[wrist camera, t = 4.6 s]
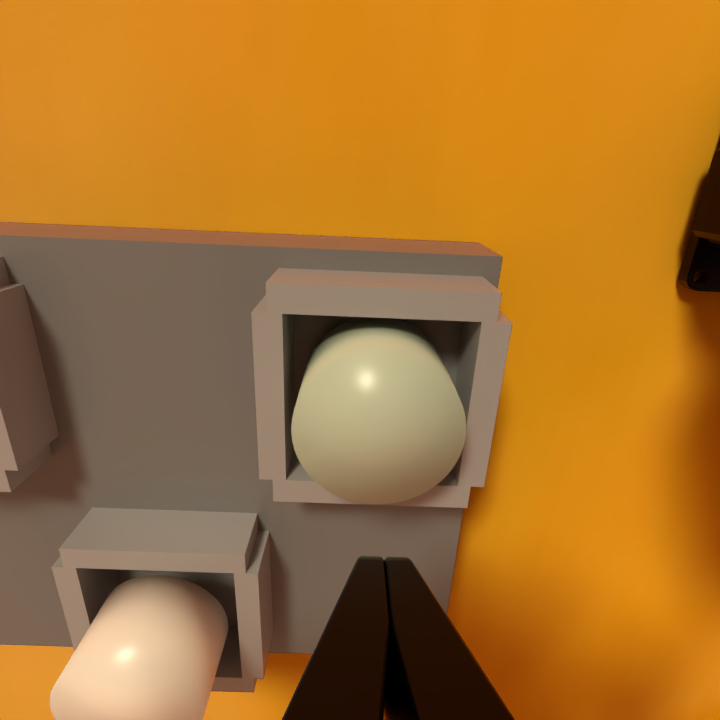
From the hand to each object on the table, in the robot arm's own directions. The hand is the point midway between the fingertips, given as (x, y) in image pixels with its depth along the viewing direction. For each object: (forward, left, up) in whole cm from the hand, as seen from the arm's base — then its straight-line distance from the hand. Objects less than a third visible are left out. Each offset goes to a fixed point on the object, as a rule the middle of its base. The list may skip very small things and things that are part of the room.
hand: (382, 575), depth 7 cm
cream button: (+7, +9, -6) cm, 13 cm away
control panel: (+7, +4, -11) cm, 14 cm away
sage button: (0, 0, -7) cm, 7 cm away
